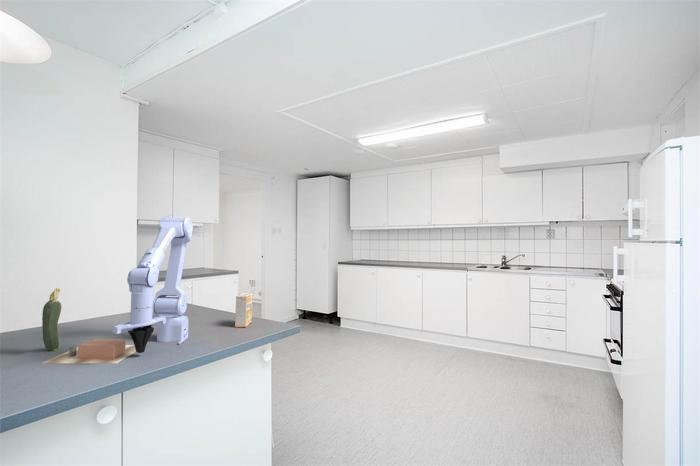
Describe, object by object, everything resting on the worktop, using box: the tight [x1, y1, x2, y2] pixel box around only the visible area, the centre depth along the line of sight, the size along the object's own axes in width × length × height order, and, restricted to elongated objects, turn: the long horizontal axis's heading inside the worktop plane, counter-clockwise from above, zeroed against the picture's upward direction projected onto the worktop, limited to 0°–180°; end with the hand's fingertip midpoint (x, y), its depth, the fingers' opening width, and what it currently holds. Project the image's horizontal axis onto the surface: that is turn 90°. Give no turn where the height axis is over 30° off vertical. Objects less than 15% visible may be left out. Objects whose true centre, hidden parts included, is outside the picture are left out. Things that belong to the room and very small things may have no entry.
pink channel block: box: [77, 338, 127, 359], centre depth 100 cm, size 10×6×4 cm, turn 93°
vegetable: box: [41, 287, 62, 352], centre depth 104 cm, size 4×4×20 cm
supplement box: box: [234, 292, 254, 328], centre depth 142 cm, size 8×5×13 cm, turn 179°
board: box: [42, 344, 137, 364], centre depth 102 cm, size 20×16×3 cm
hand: (140, 352), depth 101 cm, fingers closed
